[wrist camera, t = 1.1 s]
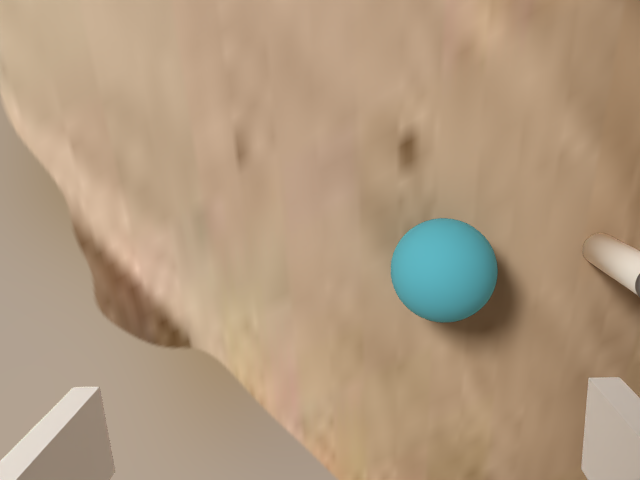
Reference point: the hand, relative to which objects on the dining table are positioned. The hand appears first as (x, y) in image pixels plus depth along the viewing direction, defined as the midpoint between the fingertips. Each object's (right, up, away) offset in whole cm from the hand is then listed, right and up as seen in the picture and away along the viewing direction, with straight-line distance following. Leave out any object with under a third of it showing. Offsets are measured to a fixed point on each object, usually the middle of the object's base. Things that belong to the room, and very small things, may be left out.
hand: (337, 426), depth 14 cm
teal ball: (+7, +3, +16) cm, 18 cm away
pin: (+17, +4, +18) cm, 25 cm away
